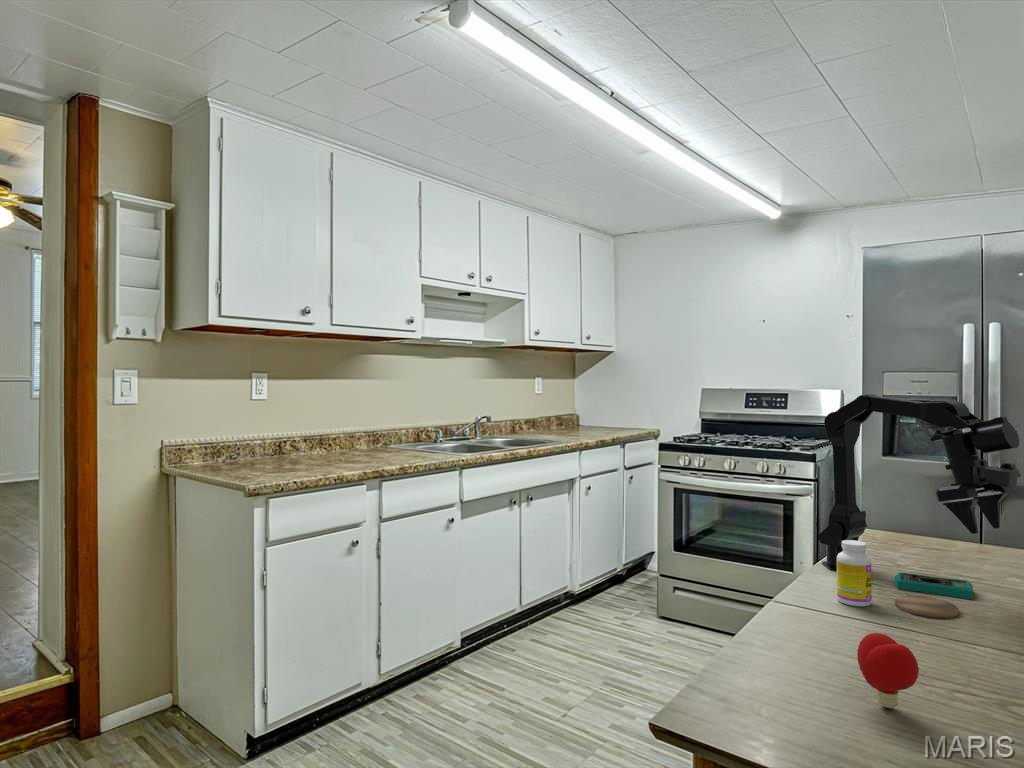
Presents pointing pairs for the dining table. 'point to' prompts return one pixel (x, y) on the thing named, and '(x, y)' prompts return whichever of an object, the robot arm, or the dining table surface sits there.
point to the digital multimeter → (934, 585)
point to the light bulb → (886, 667)
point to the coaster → (926, 606)
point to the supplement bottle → (854, 574)
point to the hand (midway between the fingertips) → (986, 530)
